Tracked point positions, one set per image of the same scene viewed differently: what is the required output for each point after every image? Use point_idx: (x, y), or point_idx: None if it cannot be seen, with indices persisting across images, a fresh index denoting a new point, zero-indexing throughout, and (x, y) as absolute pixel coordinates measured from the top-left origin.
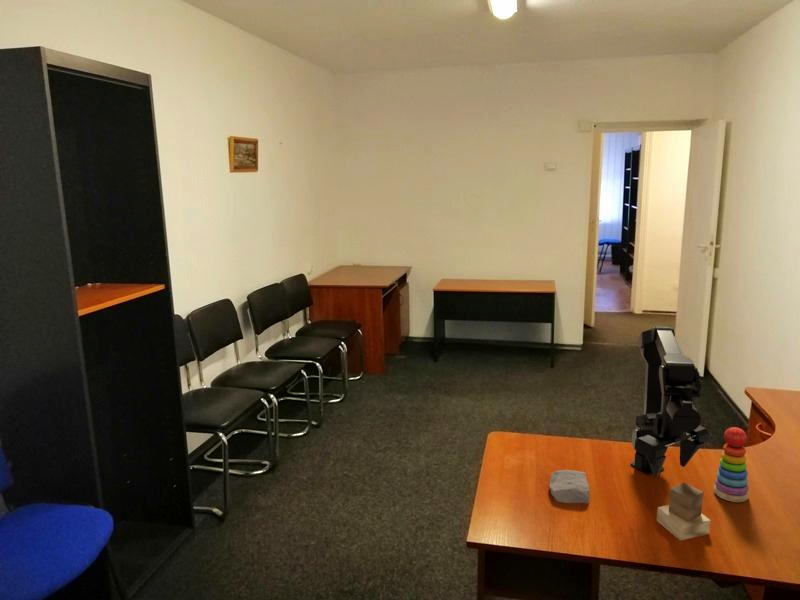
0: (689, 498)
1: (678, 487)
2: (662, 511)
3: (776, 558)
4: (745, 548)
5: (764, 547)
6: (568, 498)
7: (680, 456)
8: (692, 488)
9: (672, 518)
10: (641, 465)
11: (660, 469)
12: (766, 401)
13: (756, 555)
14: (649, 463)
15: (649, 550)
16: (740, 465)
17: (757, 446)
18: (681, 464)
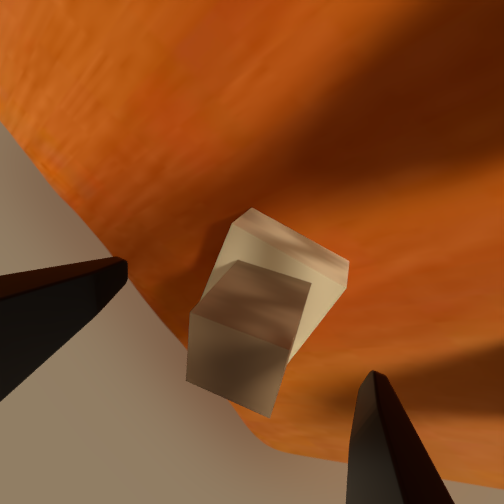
0: (186, 379)
1: (226, 337)
2: (224, 243)
3: (310, 438)
4: (300, 395)
5: (334, 425)
6: None
7: (382, 440)
8: (265, 384)
9: (210, 280)
10: None
11: (64, 338)
12: None
13: (291, 410)
14: (6, 276)
15: (133, 242)
16: None
17: None
18: (366, 386)
